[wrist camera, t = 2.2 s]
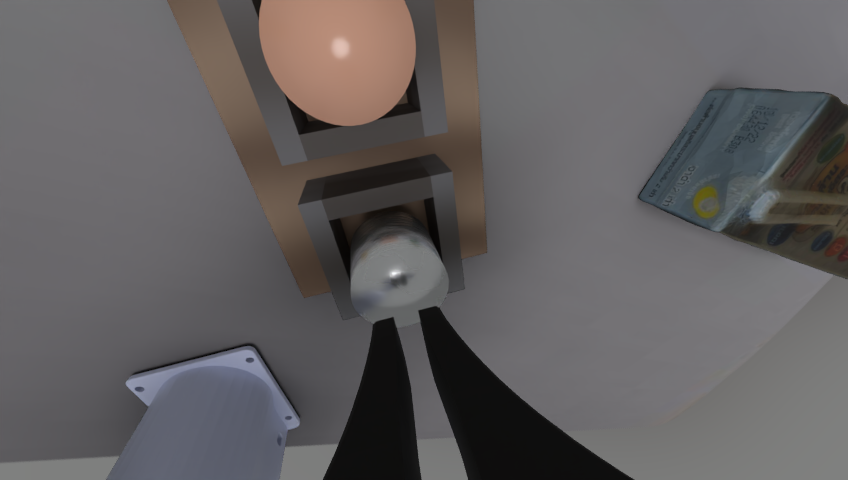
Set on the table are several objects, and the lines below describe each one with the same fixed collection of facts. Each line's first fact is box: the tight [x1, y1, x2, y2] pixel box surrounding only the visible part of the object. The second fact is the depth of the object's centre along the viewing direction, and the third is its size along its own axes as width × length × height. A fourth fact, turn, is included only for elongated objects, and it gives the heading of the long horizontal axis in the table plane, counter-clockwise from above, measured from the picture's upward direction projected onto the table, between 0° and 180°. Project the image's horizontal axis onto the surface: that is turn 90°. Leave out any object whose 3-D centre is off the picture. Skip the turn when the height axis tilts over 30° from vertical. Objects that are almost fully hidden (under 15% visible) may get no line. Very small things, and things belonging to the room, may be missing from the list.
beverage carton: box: [639, 88, 848, 279], centre depth 21 cm, size 8×19×7 cm, turn 70°
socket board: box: [167, 0, 487, 320], centre depth 15 cm, size 16×12×4 cm
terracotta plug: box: [259, 0, 416, 126], centre depth 10 cm, size 4×4×4 cm
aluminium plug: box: [350, 211, 449, 328], centre depth 14 cm, size 4×4×4 cm
